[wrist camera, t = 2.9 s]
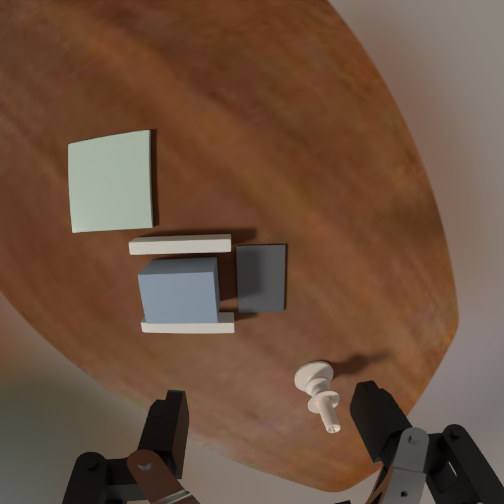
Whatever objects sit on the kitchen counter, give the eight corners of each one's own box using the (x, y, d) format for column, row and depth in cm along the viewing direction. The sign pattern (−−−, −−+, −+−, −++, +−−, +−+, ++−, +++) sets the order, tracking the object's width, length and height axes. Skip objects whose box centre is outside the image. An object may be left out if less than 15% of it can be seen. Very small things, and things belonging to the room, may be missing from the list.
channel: (285, 232, 29) (289, 237, 26) (282, 319, 31) (286, 330, 29) (137, 237, 28) (128, 242, 25) (148, 321, 30) (142, 332, 28)
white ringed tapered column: (289, 388, 34) (304, 447, 24) (301, 358, 33) (321, 417, 23) (324, 390, 35) (346, 445, 25) (337, 361, 33) (366, 415, 23)
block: (216, 256, 29) (213, 272, 24) (220, 300, 30) (217, 322, 25) (152, 259, 29) (137, 274, 24) (158, 302, 30) (146, 323, 25)
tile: (150, 130, 25) (149, 129, 25) (153, 226, 28) (152, 227, 27) (71, 144, 25) (68, 144, 24) (75, 231, 27) (72, 232, 27)
